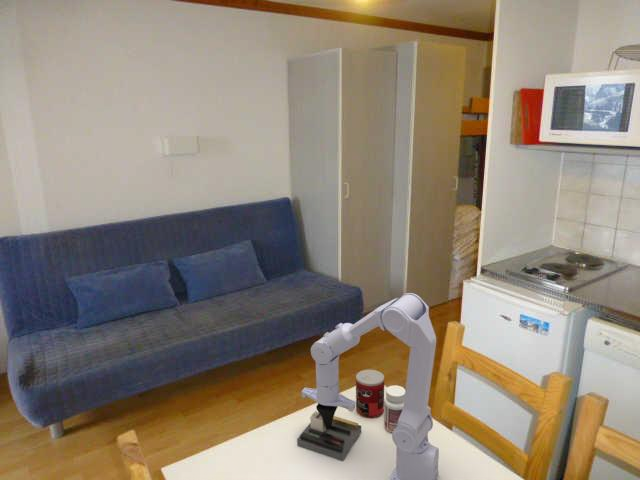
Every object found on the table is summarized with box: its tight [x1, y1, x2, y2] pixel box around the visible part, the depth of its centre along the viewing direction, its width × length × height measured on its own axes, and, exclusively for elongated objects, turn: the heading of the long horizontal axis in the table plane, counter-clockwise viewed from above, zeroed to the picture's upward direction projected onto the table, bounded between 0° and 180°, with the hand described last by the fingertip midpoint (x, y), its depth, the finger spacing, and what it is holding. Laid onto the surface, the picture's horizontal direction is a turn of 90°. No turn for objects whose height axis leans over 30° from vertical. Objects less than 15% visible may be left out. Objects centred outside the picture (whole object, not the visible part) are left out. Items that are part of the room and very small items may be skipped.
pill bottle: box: [383, 385, 406, 433], centre depth 127 cm, size 6×6×11 cm
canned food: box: [355, 369, 385, 419], centre depth 134 cm, size 8×8×11 cm
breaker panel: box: [296, 415, 362, 462], centre depth 124 cm, size 13×12×3 cm
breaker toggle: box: [309, 410, 326, 433], centre depth 124 cm, size 4×3×4 cm
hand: (328, 426), depth 123 cm, fingers closed
